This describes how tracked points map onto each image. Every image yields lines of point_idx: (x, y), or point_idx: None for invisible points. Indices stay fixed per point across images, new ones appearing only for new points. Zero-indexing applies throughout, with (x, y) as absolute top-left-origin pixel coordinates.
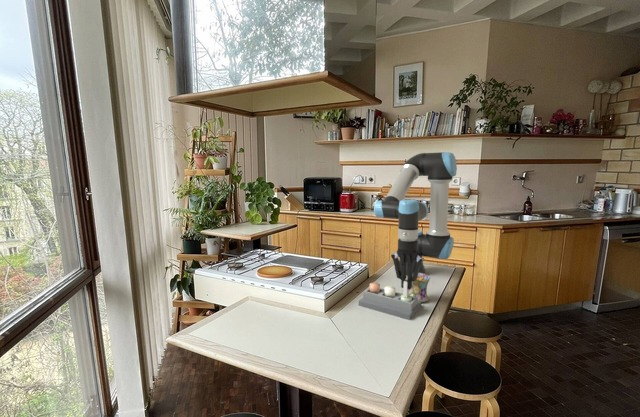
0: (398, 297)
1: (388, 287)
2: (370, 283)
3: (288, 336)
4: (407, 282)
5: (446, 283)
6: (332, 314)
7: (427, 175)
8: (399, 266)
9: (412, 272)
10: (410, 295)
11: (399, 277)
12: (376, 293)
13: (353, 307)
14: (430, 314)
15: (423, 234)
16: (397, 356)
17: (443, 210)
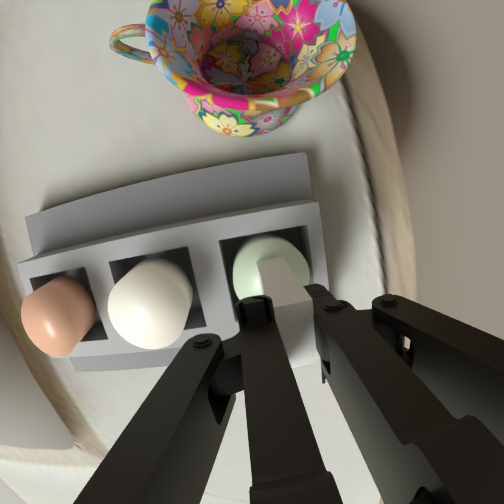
0: (224, 296)
1: (130, 311)
2: (25, 327)
3: None
4: (316, 353)
5: None
6: (99, 448)
7: None
8: (183, 443)
9: (386, 344)
10: (213, 118)
11: (234, 395)
12: (93, 324)
13: (89, 384)
14: (371, 210)
15: None
16: (363, 468)
17: None
